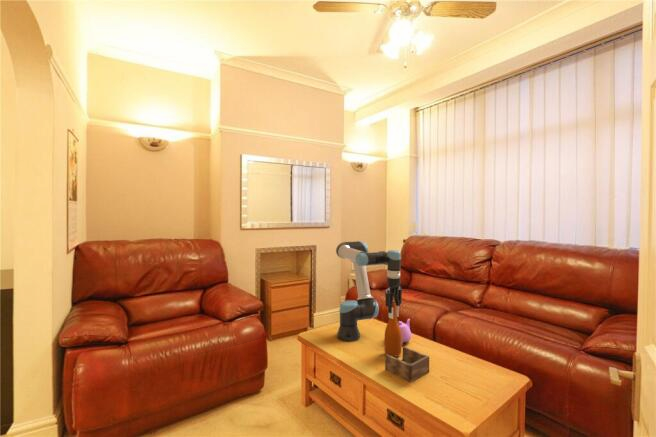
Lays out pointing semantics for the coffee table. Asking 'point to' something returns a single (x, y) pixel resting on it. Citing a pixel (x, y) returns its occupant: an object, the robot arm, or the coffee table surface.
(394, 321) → the wine bottle
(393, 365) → the wooden box
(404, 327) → the teapot
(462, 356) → the coffee table surface
